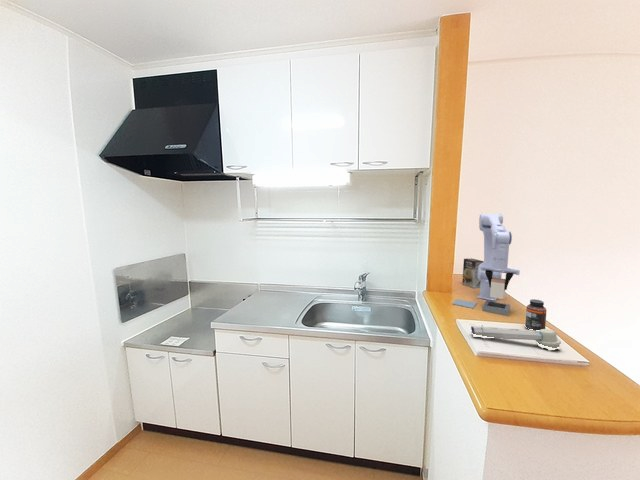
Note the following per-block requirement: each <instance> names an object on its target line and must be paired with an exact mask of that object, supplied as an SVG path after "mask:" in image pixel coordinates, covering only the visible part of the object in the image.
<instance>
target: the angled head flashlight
mask: <svg viewBox="0 0 640 480" xmlns="http://www.w3.org/2000/svg"><path fill="white" fill-rule="evenodd" d="M470 329H471V330H472V331H471V334H472V333H473V334H476V335H482V336H487V337H494V338H503V339H502V340H522V341H523V340H525V341H526V340H527V341H536V343H537V342H538V343H539V344H542V345H544V346H548V347H552V348H557V347H560V344H562V341H561V340H560V339H559V338H558V336H557V333H556V331H554V330H553V329H548V328H545V329H541V330H540V331H536V330H528V329H521V328H520V329H519V328H508V327H507V328H506V327H495V326H484V325H482V324H481V326H480V325H479V326H478V325H477V326H476V325H474V326H473V325H471V327H470Z"/></svg>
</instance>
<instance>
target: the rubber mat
mask: <svg viewBox="0 0 640 480" xmlns="http://www.w3.org/2000/svg"><path fill="white" fill-rule="evenodd" d="M451 304H452V305H453V306H458V307H463V308H468V309H474V308H475V307H476V306H477V304H478V302H475V301H469V300H464V299H459V298H456V299H455V300H454V301H453V302H452V303H451Z"/></svg>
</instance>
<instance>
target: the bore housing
mask: <svg viewBox="0 0 640 480" xmlns="http://www.w3.org/2000/svg"><path fill="white" fill-rule="evenodd" d="M482 311H483V312H487V313H492V314H495V315H496V314H497V315H501V316H506V317H509V314H510V312H511V304H509V303H503V302H498V301H492V300H487V299H485V302H484V303H483V305H482Z"/></svg>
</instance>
